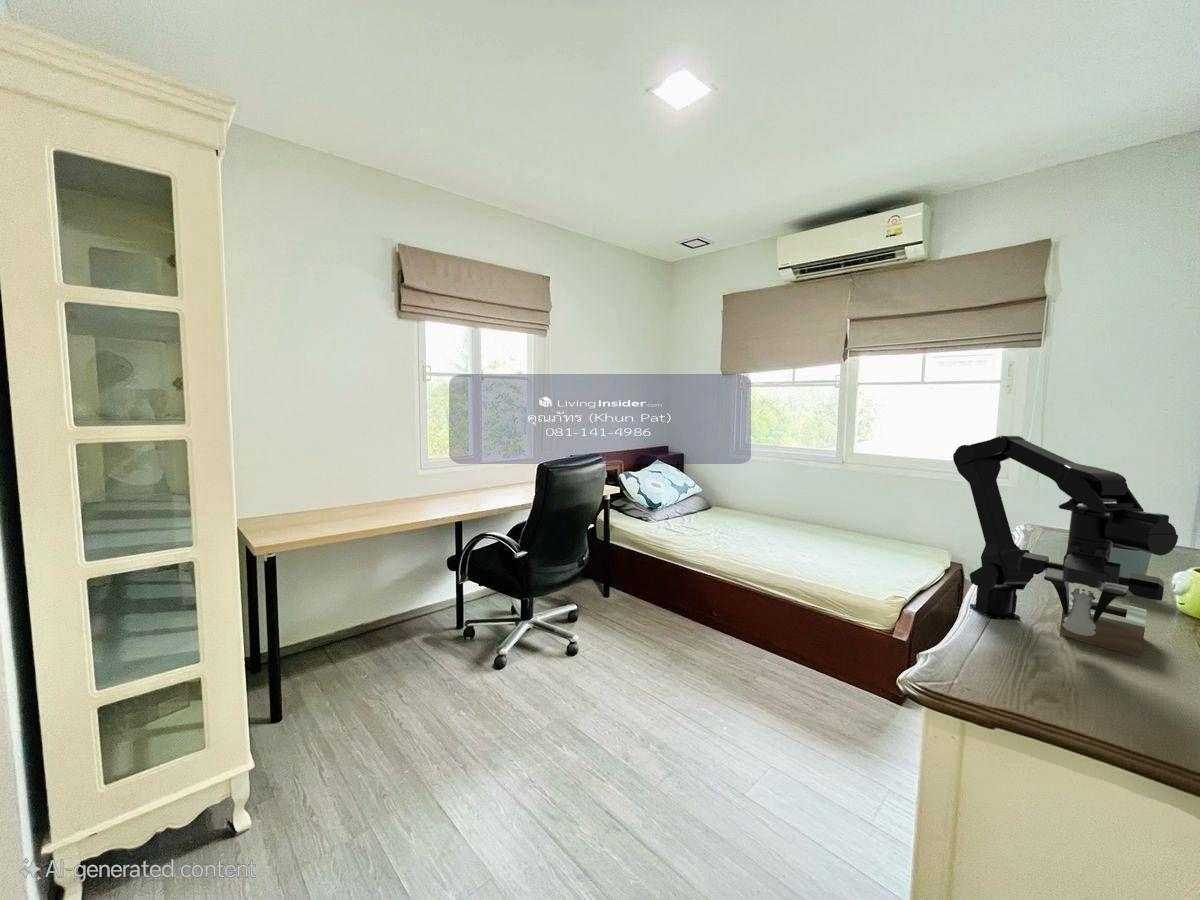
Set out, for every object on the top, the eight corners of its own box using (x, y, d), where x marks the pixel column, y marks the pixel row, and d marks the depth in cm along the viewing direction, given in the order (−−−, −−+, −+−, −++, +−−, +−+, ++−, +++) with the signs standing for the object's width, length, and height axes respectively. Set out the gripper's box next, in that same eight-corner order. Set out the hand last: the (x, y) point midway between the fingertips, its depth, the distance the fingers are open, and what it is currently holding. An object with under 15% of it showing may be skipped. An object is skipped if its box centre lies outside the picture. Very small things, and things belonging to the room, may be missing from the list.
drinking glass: (1154, 594, 118) (1160, 548, 116) (1133, 600, 114) (1140, 553, 113) (1099, 580, 127) (1105, 537, 126) (1079, 585, 123) (1084, 541, 122)
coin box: (1140, 657, 87) (1145, 627, 87) (1059, 634, 96) (1062, 606, 95) (1142, 637, 95) (1146, 609, 94) (1067, 618, 103) (1070, 592, 103)
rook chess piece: (1102, 638, 86) (1108, 596, 85) (1074, 635, 87) (1079, 594, 86) (1083, 626, 90) (1088, 587, 90) (1056, 624, 91) (1060, 585, 91)
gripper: (1015, 533, 89) (1007, 612, 90) (1169, 560, 75) (1155, 652, 76) (1026, 524, 96) (1018, 597, 98) (1168, 547, 82) (1156, 631, 83)
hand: (1080, 617), depth 88 cm, fingers closed on rook chess piece, 3 cm apart
